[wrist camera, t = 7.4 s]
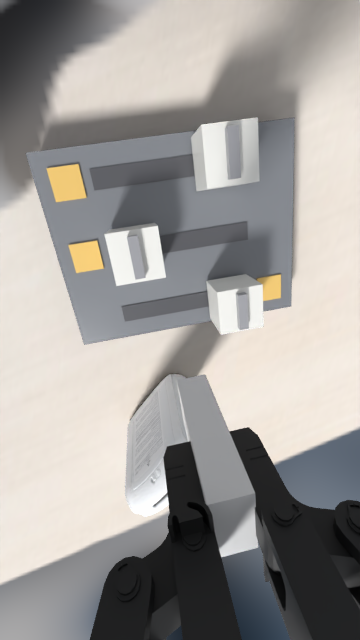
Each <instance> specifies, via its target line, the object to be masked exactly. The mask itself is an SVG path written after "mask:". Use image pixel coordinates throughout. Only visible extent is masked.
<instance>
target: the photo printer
mask: <svg viewBox="0 0 360 640" xmlns="http://www.w3.org/2000/svg"><path fill="white" fill-rule="evenodd" d="M180 379H185V377H184V376H182V375H180V374H172V375H171V374H169V375H168V376H166V377H165V378H164V379H163V380H162V381H161V382H160V383H159V385H158V386H157V387H156V388H155V389H154V391H153V392H152V393H151V394H150V395H149V397H148V398H147V399H146V400H145V402H144V403H143V404H142V405H141V407H140V408H139V409H138V410H137V412H136V413H135V414H134V416H133V417H132V419H131V420H130V422H129V425H128V435H127V460H126V482H125V496H126V500H127V502H128V505H129V507H130V508H131V510H132V511H133V512H134V513H135V514H141V515H143V516H145V517H146V516H150V515H152V514H155V513H157V512H159V511H160V510H162V509H163V508H165V507H166V506H167V505H169V502H168V494H167V485H166V476H165V468H164V459H163V457H164V454H165V451H166V448H167V446H171V445H175V444H180V443H184V442H188V439H187V434H186V430H185V426H184V421H183V415H182V410H181V404H180V398H179V392H178V386H177V380H180Z"/></svg>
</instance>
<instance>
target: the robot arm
mask: <svg viewBox="0 0 360 640" xmlns="http://www.w3.org/2000/svg"><path fill="white" fill-rule="evenodd" d="M177 386H178V392H179V398H180V404H181V410H182V415H183V421H184V426H185V430H186V434H187V439H188V442H184V443H180V444H175V445H171V446H167V448H166V451H165V454H164V457H163V459H164V468H165V476H166V485H167V494H168V502H169V511H170V514H169V516H168V529H169V533H168V535H167V537H166V539H165V540H164V542H163V543H162V544H161V546H159V547H158V548H157V549H156V550H154V551H153V552H152V553H150V554H149V555H147V556H146V557H144V558H143V559H141V558H139V557H135V556H132V557H127V558H124V559H122V560H121V561H119V562H118V563H116V565H115V566H114V567H113V568H112V570H111V571H110V572H109V574H108V576H107V579H106V581H105V584H104V587H103V591H102V595H101V599H100V603H99V607H98V610H97V614H96V618H95V622H94V626H93V629H92V634H91V637H90V640H166V637H167V636H169V635H170V634H171V633H172V632H173V631H174V630H176V629H177V628H178V627H179V626H180V625H181V627H182V636H183V640H242V639H241V635H240V631H239V627H238V623H237V619H236V615H235V611H234V607H233V603H232V599H231V595H230V591H229V587H228V583H227V579H226V575H225V571H224V567H223V563H222V559H221V557H224V556H228V555H231V554H235V553H239V552H242V551H246V550H250V549H254V548H257V547H258V542H259V545H260V547H261V550H262V553H263V561H264V576H265V581H266V582H268V581H270V584H271V586H272V589H273V592H274V595H275V598H276V600H277V603H278V606H279V609H280V612H281V614H282V617H283V620H284V623H285V625H286V628H287V631H288V634H289V637H290V639H291V640H360V502H358V501H353V500H346V501H343V502H340V503H339V505H338V506H337V507H336V508H335V510H330V509H320V508H313V507H309V506H306V505H304V504H302V503H300V502H299V501H297V500H296V499H295V498H294V497H292V496H291V495H290V493H289V492H288V490H287V489H286V487H285V485H284V483H283V481H282V479H281V478H280V476H279V474H278V472H277V470H276V468H275V466H274V465H273V463H272V461H271V459H270V457H269V456H268V453H267V452H266V450H265V448H264V446H263V444H262V442H261V440H260V439H259V437H258V435H257V434H256V433H254V432H253V431H252V430H251V429H250V428H243V429H239V430H234V431H230V432H229V430H228V427H227V425H226V423H225V420H224V418H223V416H222V413H221V411H220V408H219V406H218V404H217V401H216V399H215V397H214V394H213V392H212V389H211V387H210V385H209V382H208V380H207V378H206V375H200V376H195V377H190V378H185V379H180V380H177Z"/></svg>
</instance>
